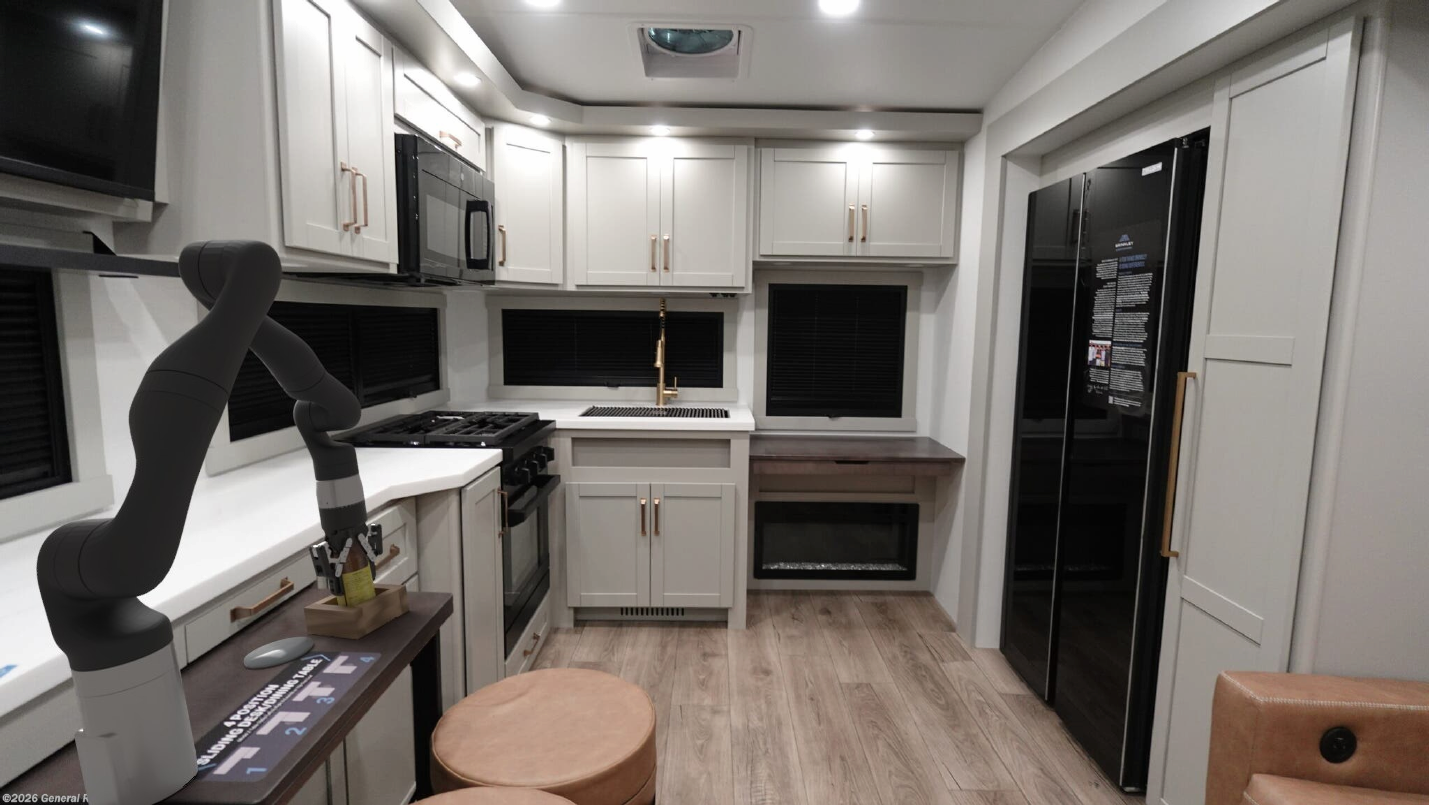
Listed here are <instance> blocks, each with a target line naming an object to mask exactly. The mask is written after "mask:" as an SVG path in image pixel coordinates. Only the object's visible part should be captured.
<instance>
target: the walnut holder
mask: <svg viewBox="0 0 1429 805" xmlns="http://www.w3.org/2000/svg"><path fill="white" fill-rule="evenodd" d="M373 584H374V589H375V594H376V596H375V597H373V598H371V599H369V600H367V601H365V602H363V603H361V604H359V605H357V606H355V607H349V606H338V601H337V596H334V595H333V594H331V595H328V596H326V597H324V598H322V599H319V600H318V601H317V600H316V601H315V602H314V603H311V604H309V605H307V606H305V607H303V611H304V612H303V613H304V618H305V619H304V620H305V624H306V630H307V634H308V635H312V634H318V635H317V636H321V635H327V636H326V637H331V636H334V637H333V638H342V639H343V638H344V639H351V640H359V639H361V638H362V637H364V636H366V635H369V633H372V632H373V631H375V630H377V629H379V628H380V627H382V626H384V625H386V624H388V623H389V622H391V621H393V620H395V619H396V618H395V617H397V618H398V617H400V616H403V615H404V614H406V613H407V612H409V611H410V604H409V598H408V593H407V591H408V590H407V585H406V584H405V585H404V584H389V583H375V582H373ZM394 618H395V619H394ZM392 619H393V620H392ZM390 620H391V621H390ZM387 622H388V623H387Z"/></svg>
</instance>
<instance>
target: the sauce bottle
mask: <svg viewBox="0 0 1429 805" xmlns="http://www.w3.org/2000/svg"><path fill="white" fill-rule="evenodd" d="M345 537H347V538H351V539H352V545H351V547H350V549H349V552H348V555H347V557H346V563H344V564H343V568H342V572H341V575H342V577H343V584H344V590H345V594H344V595H342V596H337V601H338V606H349V607H355V606H357V605H359V604H361V603H363V602H365V601H367V600H369V599H371V598H373V597H375V596H376V594H375V589H374V584H373V583H374V581H373V579H372V574H371V569H370V564H369V559H368V557H367V555H366V553H365V552H364V550H363V548H362V547H361V546H360V544H359V543H358V541H357V540H356V538H355V530H354V528H350V529H345ZM339 557H340V554H339V555H338V554H334V553H333V555H332V558H334V559H338V558H339ZM333 566H334V570H335V566H336V563H333Z"/></svg>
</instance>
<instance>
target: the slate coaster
mask: <svg viewBox="0 0 1429 805" xmlns="http://www.w3.org/2000/svg"><path fill="white" fill-rule="evenodd" d="M313 646H314V640H313V639H312V638H311V637H308V636H294V637H287V638H283V639H279V640H276V641H273V642H269V643H266V644H264V645H262V646H260V647H257V648H256V649H254V650H252V651H250V652H249V653H248V654H247V655H246V656H245V657H244V658H243V664H244V666H245V668H247V669H253V670H255V669H257V670H258V669H265V668H267V669H268V668H273V667H275V666H279V665H283V664H285V663H288V662H291V661H294V660H296V659H298V658H300V657H302V656H304V655H305V654H307V653H308V652H310V651H311V649H312V648H313Z"/></svg>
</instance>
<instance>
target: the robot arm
mask: <svg viewBox="0 0 1429 805" xmlns="http://www.w3.org/2000/svg"><path fill="white" fill-rule="evenodd" d="M177 262H178V264H177V265H178V266H177V267H178V273H179V275H180V279H181V280H182V283H183V284H184V286H185V287H186V290H188V292H189V293H191V294H190V295H192V296H193V297H194V298H195V300H197V302H199V303H200V304H201V305H202V306H203V307H204V308H205V309H206V310H207V311H209V312H208V313H207V314H206V315H205V316H204V317H203V318H202V319H201V320H200V321H198V322H197V323H196V324H195V325H193V327H192V328H190V329H189V330H187V331H186V332H185V333H183V334H182V335H181V336H180V337H179V338H177V339H176V340H175V341H173V342H172V343H171V344H170V345H169V346H167V347H166V348H165V349H164V350H163V351H162V352H161V353H159V355H157V356H156V357H155V358H154V359H153V361H152V362H151V364H150V365H149V366H148V367H147V369H146V371H145V373H144V375H143V378H142V380H141V382H140V384H139V385H138V388H137V390H136V392H135V394H134V396H133V399H132V401H131V404H130V407H129V411H128V427H129V433H130V439H131V442H132V446H133V450H134V456H135V470H134V475H133V479H132V481H131V484H130V487H129V489H128V491H127V494H126V495H125V498H124V500H123V503H122V504H121V506H120V508H119V510H118V511H117V513H116V515H115V516H114V517H102V518H101V517H100V518H85V519H78V520H75V521H70V522H68V523H67V522H66V523H65V524H63V525H60V526H59V527H58V528H56V529H54V530H53V531H52V532H51V533H50V534H49V535H47V536H46V538H45V540H44V541H43V543H42V544H41V547H40V548H39V551H38V554H37V557H36V559H37V560H36V567H35V568H36V581H37V585H38V589H39V592H40V594H39V595H40V598H41V601H42V604H43V608H44V613H45V615H46V619H47V623H48V625H49V629H50V633H51V635H52V639H53V640H54V642H55V644H56V646H57V648H59V650H60V651H62V653H63V654H64V655H65V656H66V657H67V660H68V664H69V665H68V666H69V668H70V672H71V677H72V683H73V686H74V691H75V696H76V697H75V698H76V701H77V707H78V712H79V717H80V721H81V726H82V728H80V729H78V730H77V731H76V732H74V739H75V740H74V741H75V745H76V749H77V756H78V759H79V764H80V770H81V773H82V778H83V784H84V788H85V789H84V790H85V793H86V797H87V803H88V805H154V804H156V803H158V802H161V801H163V800H164V799H166V798H168V797H170V796H172V795H173V794H176V793H177V792H178V791H180V790H181V789H183V788H184V787H185V786H186V785H185V784H186V783H188V782H189V781H190V780H191V779H192V778H193V777H194V776H196V775H197V773H198V772H199V765H198V760H197V751H196V748H195V743H194V737H193V733H192V732H193V731H192V727H191V722H190V716H189V711H188V707H187V701H186V695H185V689H184V685H183V679H182V673H181V670H180V664H179V657H178V651H177V648H176V642H175V637H174V631H173V626H172V623H171V620H170V618H169V617H168V616H167V615H166V614H165V613H162V612H160V611H158V610H155V609H154V608H151V607H149V606H148V605H147V604H145V603H144V602H142V601H141V600H140V599H139V598H138V597H141V596H144V595H147V594H148V593H150V592H151V591H153V590H155V589H156V588H157V587H159V585H161V583H163V581H164V579H166V577H167V575H168V574H169V572H170V571H171V568H172V567H173V564H174V562H175V559H176V557H177V553H178V551H179V548H180V544H181V541H182V536H183V533H184V529H185V525H186V521H187V519H188V513H189V510H190V506H191V502H192V496H193V494H194V492H195V491H194V490H195V487H196V485H197V481H198V478H199V475H200V472H201V470H202V467H203V464H204V462H205V459H206V456H207V453H208V450H209V447H210V445H211V442H212V439H213V437H214V435H215V433H216V430H217V428H218V426H219V424H220V422H221V419H222V417H223V415H224V411H225V409H226V406H227V404H228V401H229V399H230V396H231V392H232V390H233V387H234V384H235V381H236V379H237V376H238V374H239V371H240V369H241V367H242V364H243V363H244V360H245V357H246V355H247V353H248V350H249V349H250V350H251V352H253V353H254V354H255V355H256V356H257V358H259V359H260V361H261V362H262V363H263V364H264V365H265V367H266V368H267V369H268V371H269V372H270V373H271V375H272V376H273V377H274V380H276V381H277V383H278V384H279V385H280V387H281V388H282V389H283V391H284V392H285V393H286V394H287V395H288V396H289V397H290V398H292V399H294V400H296V402H295V404H294V406H293V412H292V414H293V416H292V417H293V420H294V424H295V426H296V429H297V430H298V432H299V434H300V436H301V438H302V440H303V441H304V443H305V446H306V448H307V451H308V453H309V455H310V457H311V460H312V465H313V470H314V471H313V472H314V479H315V494H316V495H315V496H316V501H317V508H318V509H317V510H318V514H319V521H320V527H321V530H322V531H323V532H324V539H323V541H322V542H320V543H319V544H315V545H314V544H312V545H310V546H309V549H308V550H309V554H310V558H311V561H312V564H313V568H314V569H313V570H314V572H315V575H316V577H323V578H327V580H328V586H329V591H330V592H329V593H330V594H331V595H334V596H342V595H344V594H345V590H344V584H343V577H342V575H341V572H342V568H343V564H344V563H346V557H347V555H348V552H349V549H350V547H351V545H352V539H351V538H347V537H345V529H350V528H354V530H355V538H356V540H357V541H358V543H359V544H360V546H361V547H362V548H363V550H364V552H365V553H366V555H367V557H368V559H369V564H370V569H371V574H372V579H373V582H374V581H376V576H377V569H376V563H375V562H376V560H377V557H378V556H381V555H383V553H384V548H383V546H384V545H383V528H382V524H381V523H368V524H367V522H368V519H369V518H368V512H367V507H366V506H367V505H366V499H365V494H364V493H365V492H364V486H363V482H362V480H361V476H360V470H359V463H358V456H357V451H356V450H357V449H355V446H354V445H353V444H351V443H347V442H338V441H335V440H333V439H332V438H331V437H330V435H329V434H328V433H329V432H340V431H348V430H351V429H352V428H355V427H356V426H358V424H359V422H360V420H361V417H362V406H361V404H360V401H359V400H358V398H357V396H356V395H355V394H354V393H353V391H351V390H350V389H349V388H348V387H347V386H345V385H344V384H343V382H341V381H339V379H337V378H335V377H334V376H333V375H331V373H328V372H327V370H326V369H325V367H324V366H323V364H322V363H321V361H320V360H319V357H317V355H316V353H315V352H314V350H313V349H312V348H311V347H310V346H309V344H307V343H306V341H304V340H303V339H302V338H300V337H299V335H297V334H295V333H294V332H292V331H291V330H289V329H288V328H286V327H284V325H282V324H280V323H278V322H277V321H275V320H274V319H273V318H271V317H270V316H268V315H267V314H268V312H269V311H270V308H271V307H272V305H273V303H274V302H275V299H276V297H277V295H278V293H279V290H280V286H281V282H282V274H283V273H282V272H283V270H282V269H283V268H282V262H281V258H280V256H279V254H278V252H277V251H276V249H275V248H274V247H273V246H272V245H270V244H268V243H266V242H265V241H261V240H257V239H248V238H237V239H236V238H234V239H233V238H232V239H231V238H229V239H228V238H227V239H222V238H221V239H202V240H196V241H191V242H189V243H188V244H186V245H185V246H184V247H183V248H182V250H181V252H180V254H179V257H178V261H177ZM333 553H334V554H338V555H339V554H340V557H339V558H338V559H334V558H332V555H333ZM333 563H336V566H335V570H334V566H333ZM194 778H195V777H194ZM194 778H193V779H194ZM193 779H192V780H193ZM192 780H191V781H192ZM191 781H190V782H191ZM190 782H189V783H190ZM189 783H188V784H189ZM184 785H185V786H184ZM183 786H184V787H183Z"/></svg>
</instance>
